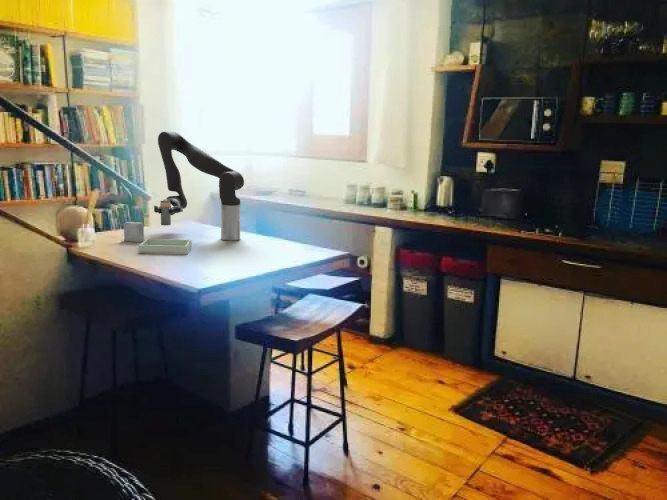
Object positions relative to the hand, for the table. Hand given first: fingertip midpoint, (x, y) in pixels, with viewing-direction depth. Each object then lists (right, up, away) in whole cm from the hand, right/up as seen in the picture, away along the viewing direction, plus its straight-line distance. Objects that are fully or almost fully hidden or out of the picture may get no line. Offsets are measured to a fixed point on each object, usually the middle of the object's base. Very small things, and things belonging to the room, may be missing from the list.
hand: (164, 211), depth 258 cm
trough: (+4, -18, -10) cm, 21 cm away
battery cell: (-1, -6, +3) cm, 7 cm away
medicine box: (-16, -14, +7) cm, 22 cm away
